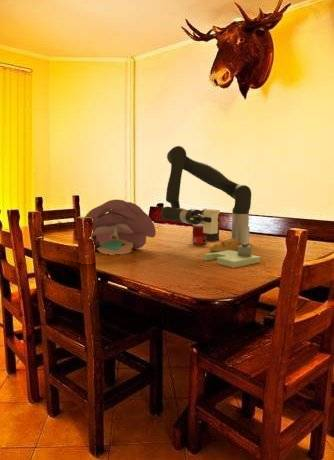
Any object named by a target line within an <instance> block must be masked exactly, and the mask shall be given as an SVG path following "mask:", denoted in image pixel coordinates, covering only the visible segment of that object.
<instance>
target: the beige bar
mask: <svg viewBox="0 0 334 460" xmlns="http://www.w3.org/2000/svg"><path fill="white" fill-rule="evenodd" d="M203 209H204V213H203V214H204V217H210V218H211V222H202V223H203V233H208V234H215V233H218V224H219V222H218V217H219V214H221V212H220V211H221V210H220V209H215V208H214V209H213V208H209V209H208V208H203Z"/></svg>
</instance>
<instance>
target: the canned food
mask: <svg viewBox="0 0 334 460" xmlns="http://www.w3.org/2000/svg"><path fill="white" fill-rule="evenodd" d="M207 242H208V241H207V233H203V224H200V223H199V224H197V225H194V224H192V244H193V245H195V246H205V245H207Z"/></svg>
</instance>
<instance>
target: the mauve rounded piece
mask: <svg viewBox="0 0 334 460" xmlns="http://www.w3.org/2000/svg"><path fill="white" fill-rule="evenodd" d="M85 217H91V218H92V219H93V233H92V239H93V242H94V245H95V250H94V251H96V250H97V251H98V252H99V253H101V254H103V255H107V254H110V255H111V256H112V255H113V256H116V255H115V254H120V255H125V254H129V253H131V252H132V251H133V249H134V248H137V249H140V248H143V247H144V246H145V244H146V243H147V237H148V238H155V237H156V235H157V234H156V232H157V231H156V226H155V225H154V222H153V220H152V218H151V217H150V215H148V214H147V213H146V212H145V211H144V209H143V208H141V207H140V206H139V205H137V204H135V203H133V202H131V201H130V202H129V201H125V200H122V199H111V200H108V201H106V202H103V204H100V205H98V206H96V207H94V208H91V210H89V211H88V212H87V213H86V215H85V216H84V218H85ZM110 255H109V256H110Z"/></svg>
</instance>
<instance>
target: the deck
mask: <svg viewBox="0 0 334 460" xmlns="http://www.w3.org/2000/svg"><path fill="white" fill-rule="evenodd" d="M247 245H248V244H245V243H243V244H242V245H240V246H238V251H237V252H236V251H232V250H227V251H221V252H210V253H204V254H203V260H204V261H209V260H216V264H219V265H222V266H226V267H229V268H232V269H234V268H238V267H243V266H248V265H253V264H258V263H261V262H260V261H261V256H259V255H258V256H257V255H253V254H252V246H250V245H248V246H247Z"/></svg>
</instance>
